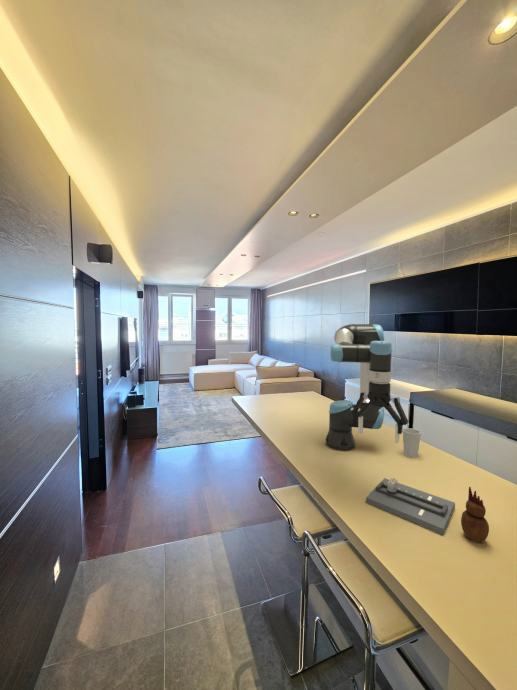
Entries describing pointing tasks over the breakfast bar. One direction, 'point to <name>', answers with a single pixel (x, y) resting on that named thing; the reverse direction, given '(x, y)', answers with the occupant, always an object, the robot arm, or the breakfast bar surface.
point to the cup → (411, 442)
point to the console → (413, 505)
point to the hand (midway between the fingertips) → (377, 437)
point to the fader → (392, 486)
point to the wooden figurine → (475, 519)
